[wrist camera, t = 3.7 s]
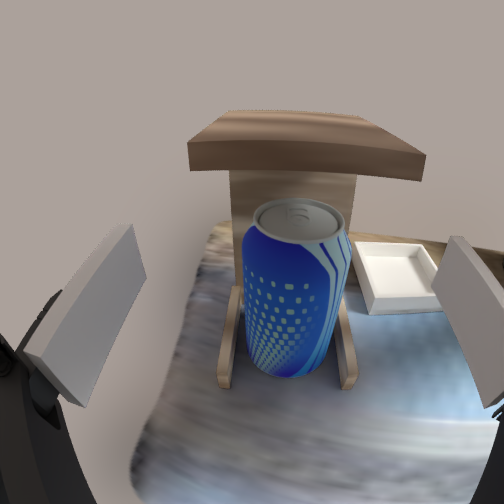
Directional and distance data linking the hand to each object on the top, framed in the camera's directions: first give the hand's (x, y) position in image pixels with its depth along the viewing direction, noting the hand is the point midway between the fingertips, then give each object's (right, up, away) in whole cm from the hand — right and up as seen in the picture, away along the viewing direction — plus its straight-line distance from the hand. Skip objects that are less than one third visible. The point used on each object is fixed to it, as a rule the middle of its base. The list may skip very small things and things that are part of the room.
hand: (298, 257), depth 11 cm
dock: (+2, -9, +20) cm, 22 cm away
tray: (+19, -4, +26) cm, 33 cm away
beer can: (+2, -11, +18) cm, 21 cm away
